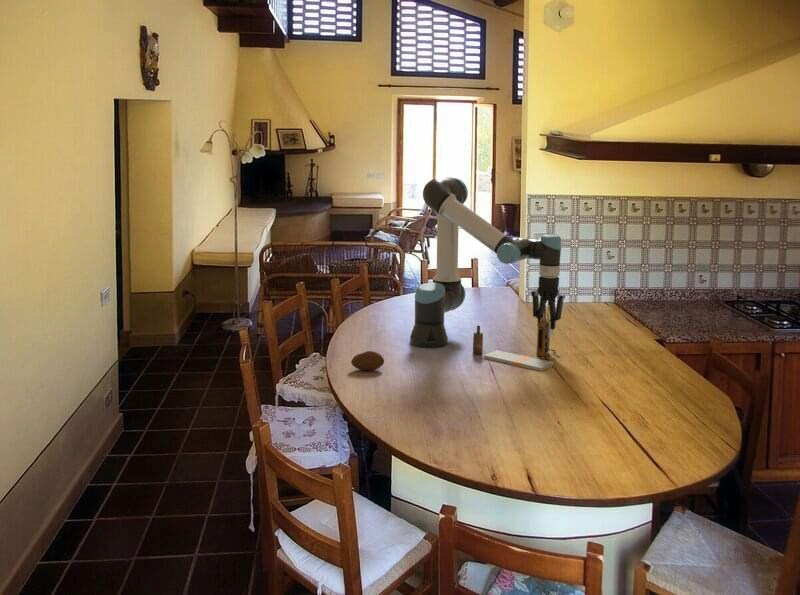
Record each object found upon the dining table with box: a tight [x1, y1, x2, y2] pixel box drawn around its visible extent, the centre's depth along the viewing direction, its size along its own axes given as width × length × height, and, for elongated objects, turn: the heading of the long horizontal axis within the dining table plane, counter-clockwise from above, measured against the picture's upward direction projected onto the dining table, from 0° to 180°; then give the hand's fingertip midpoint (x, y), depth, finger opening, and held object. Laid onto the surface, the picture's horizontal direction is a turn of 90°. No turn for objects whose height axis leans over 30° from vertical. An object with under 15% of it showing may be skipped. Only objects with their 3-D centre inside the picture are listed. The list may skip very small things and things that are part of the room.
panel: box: [483, 349, 554, 372], centre depth 285 cm, size 24×9×1 cm, turn 52°
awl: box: [472, 324, 484, 356], centre depth 294 cm, size 4×4×11 cm
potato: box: [350, 350, 385, 371], centre depth 272 cm, size 7×12×7 cm, turn 101°
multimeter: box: [536, 301, 563, 361], centre depth 292 cm, size 15×10×20 cm
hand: (545, 336), depth 296 cm, fingers closed on multimeter, 3 cm apart
